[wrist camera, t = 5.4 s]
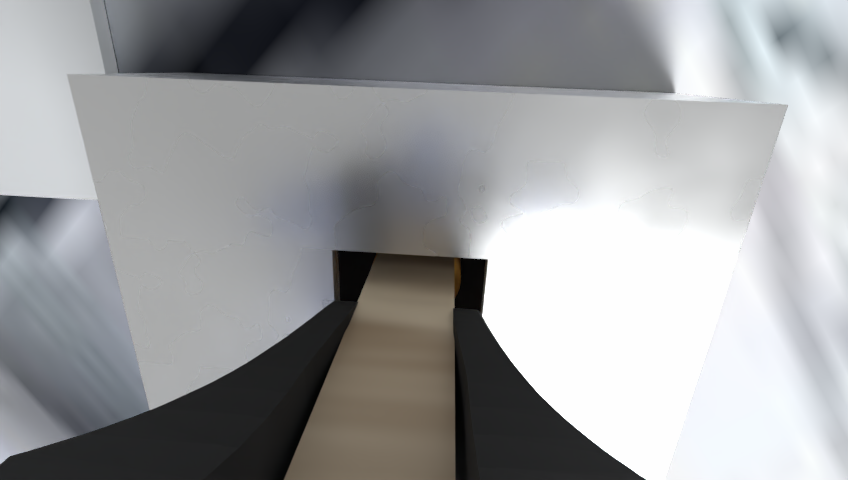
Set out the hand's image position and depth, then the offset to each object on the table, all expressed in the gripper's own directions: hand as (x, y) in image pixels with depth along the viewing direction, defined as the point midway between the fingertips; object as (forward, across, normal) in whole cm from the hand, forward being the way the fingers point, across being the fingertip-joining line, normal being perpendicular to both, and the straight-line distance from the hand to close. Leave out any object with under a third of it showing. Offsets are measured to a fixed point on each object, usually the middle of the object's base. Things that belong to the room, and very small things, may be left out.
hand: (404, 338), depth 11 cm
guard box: (+6, 0, 0) cm, 6 cm away
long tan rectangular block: (+3, 0, 0) cm, 4 cm away
